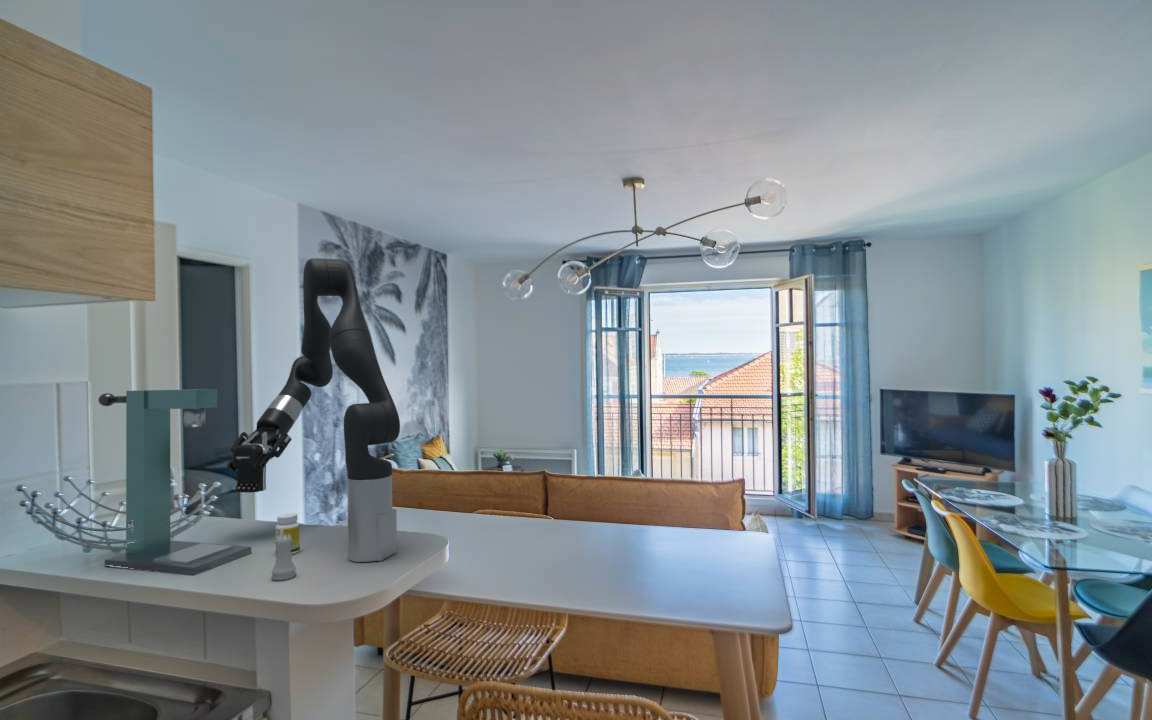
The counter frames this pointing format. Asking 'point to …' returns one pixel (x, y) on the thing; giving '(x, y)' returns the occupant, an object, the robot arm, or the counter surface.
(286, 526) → the supplement bottle
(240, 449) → the battery
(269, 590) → the counter surface
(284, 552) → the rook chess piece
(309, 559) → the counter surface
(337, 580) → the counter surface
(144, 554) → the arbor press
